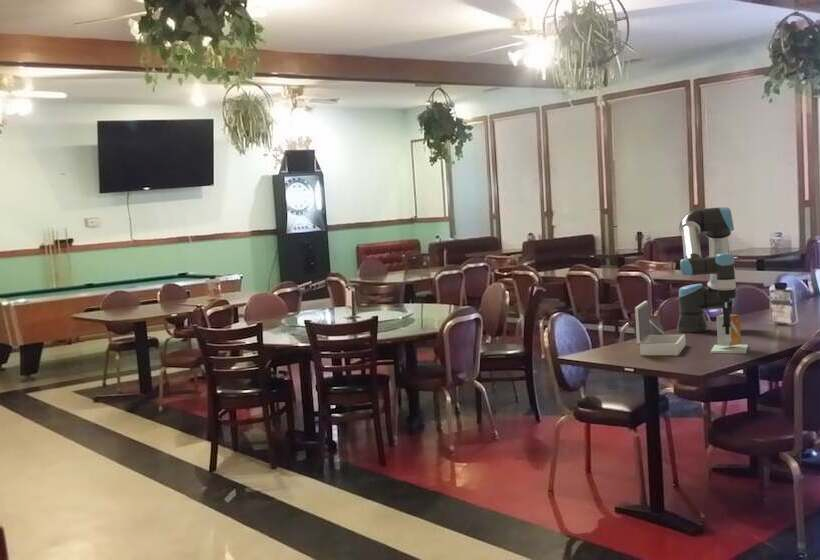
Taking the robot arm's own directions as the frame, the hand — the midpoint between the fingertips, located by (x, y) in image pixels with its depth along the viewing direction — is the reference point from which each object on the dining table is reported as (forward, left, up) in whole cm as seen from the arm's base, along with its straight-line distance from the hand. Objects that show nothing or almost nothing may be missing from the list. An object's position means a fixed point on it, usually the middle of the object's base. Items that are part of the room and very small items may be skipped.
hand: (729, 339), depth 360 cm
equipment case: (0, -28, -5) cm, 28 cm away
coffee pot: (-23, -34, -5) cm, 41 cm away
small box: (0, 0, -2) cm, 2 cm away
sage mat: (0, 0, -5) cm, 5 cm away
